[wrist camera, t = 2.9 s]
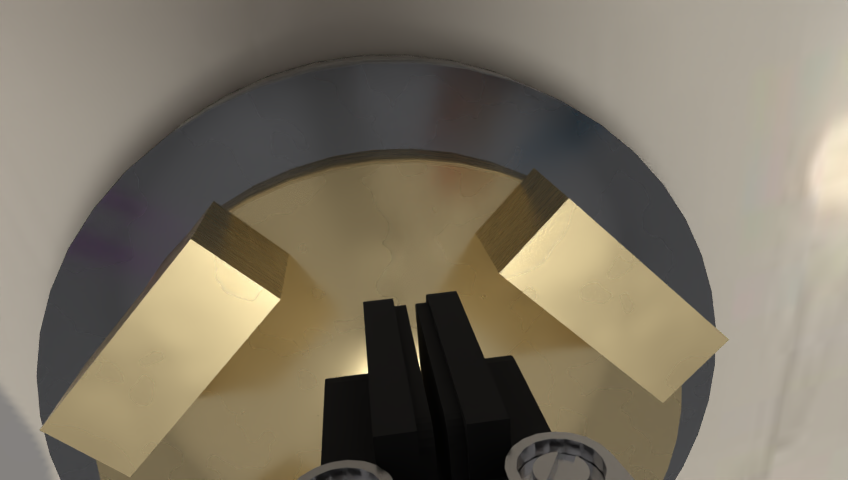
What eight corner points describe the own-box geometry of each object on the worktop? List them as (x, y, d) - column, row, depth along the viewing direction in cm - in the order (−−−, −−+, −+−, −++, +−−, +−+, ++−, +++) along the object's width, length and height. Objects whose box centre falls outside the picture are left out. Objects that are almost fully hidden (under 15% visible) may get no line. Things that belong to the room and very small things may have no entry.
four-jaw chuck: (45, 182, 19) (-51, 242, 14) (671, 120, 21) (768, 156, 16) (180, 650, 26) (146, 794, 21) (642, 574, 27) (704, 692, 23)
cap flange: (-16, 87, 21) (-74, 102, 18) (698, 27, 23) (752, 31, 20) (150, 627, 29) (129, 698, 26) (659, 546, 32) (693, 603, 29)
